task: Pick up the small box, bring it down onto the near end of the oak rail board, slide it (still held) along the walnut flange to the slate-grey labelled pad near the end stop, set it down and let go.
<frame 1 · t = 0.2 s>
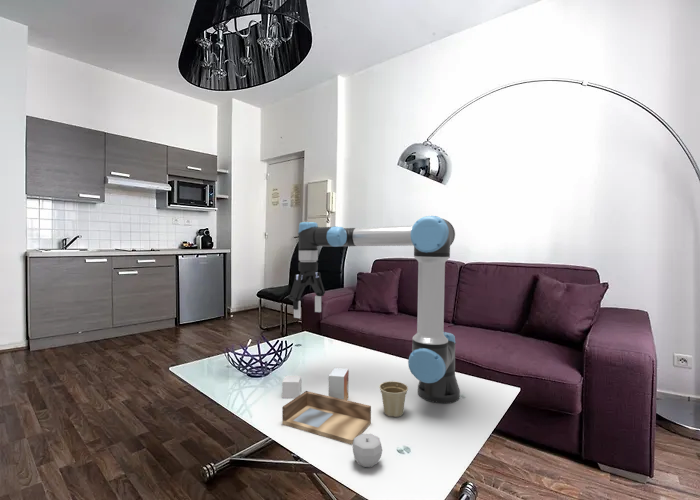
hand: (308, 314, 138), 27 cm above the table, fingers open, 13 cm apart
small box: (338, 402, 123), on the table
white cube: (292, 395, 128), on the table
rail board: (326, 423, 107), on the table
flower pot: (393, 413, 114), on the table
apple: (367, 464, 88), on the table
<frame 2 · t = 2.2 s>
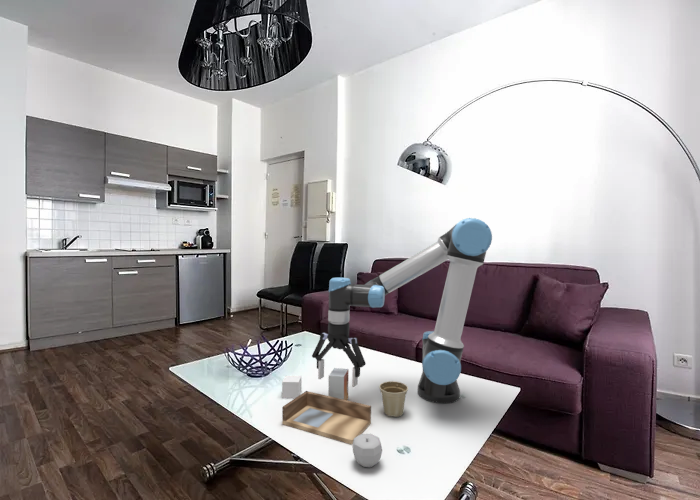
hand: (337, 381, 122), 7 cm above the table, fingers open, 13 cm apart
nothing on the table moved.
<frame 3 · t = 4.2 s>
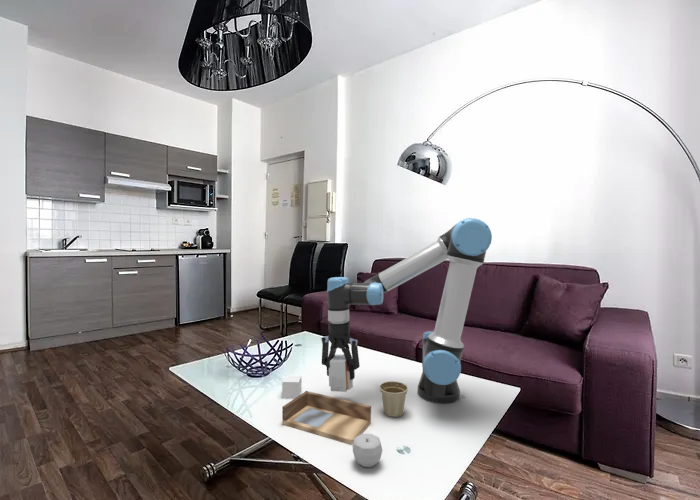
hand: (340, 386, 122), 5 cm above the table, fingers closed on small box, 7 cm apart
small box: (341, 388, 122), point 5 cm above the table, touching gripper
everything else where it was.
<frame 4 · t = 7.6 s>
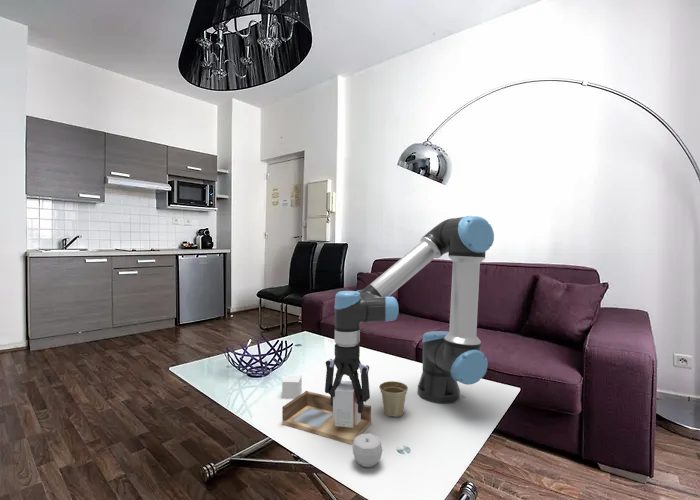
hand: (346, 419, 104), 3 cm above the table, fingers closed on small box, 7 cm apart
small box: (346, 421, 104), point 2 cm above the table, touching gripper
everything else where it was.
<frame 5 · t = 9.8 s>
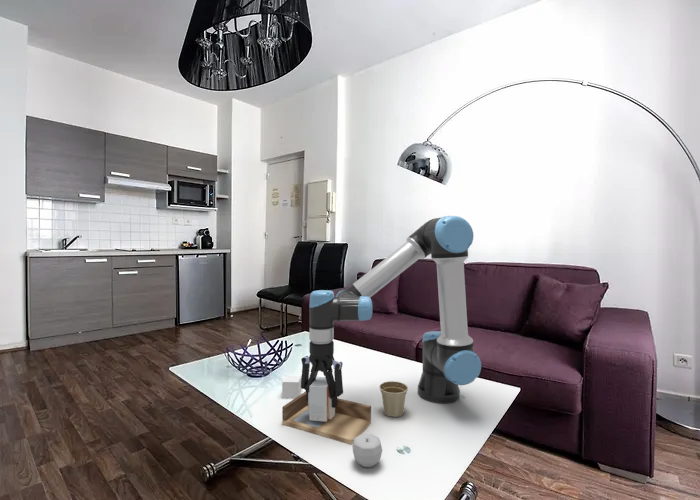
hand: (321, 414, 108), 3 cm above the table, fingers closed on small box, 7 cm apart
small box: (321, 415, 108), point 2 cm above the table, touching gripper
everything else where it was.
when the fingers open (2 cm above the table, at t = 11.3 s): small box stays where it is, resting on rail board.
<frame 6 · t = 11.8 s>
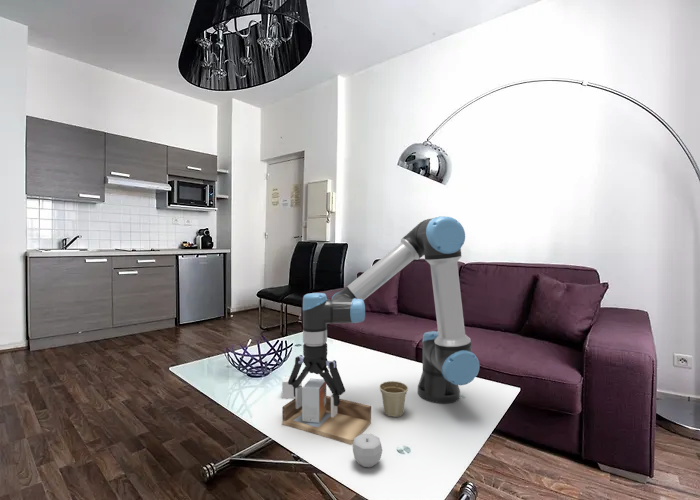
hand: (316, 411, 109), 3 cm above the table, fingers open, 12 cm apart
small box: (314, 417, 109), point 1 cm above the table, touching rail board
everything else where it was.
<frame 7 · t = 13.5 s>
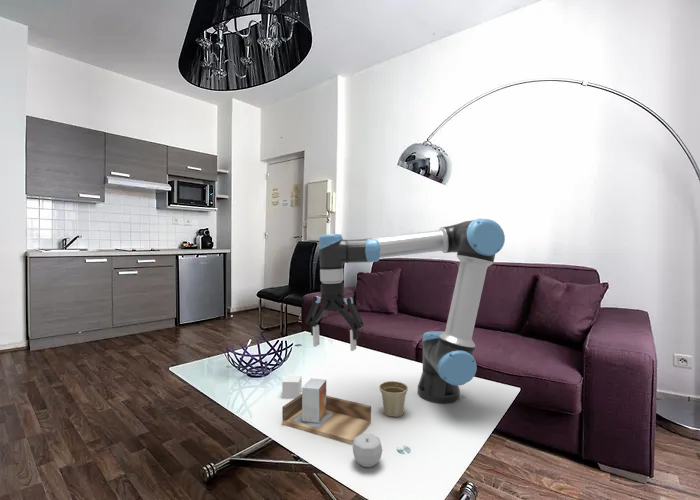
hand: (334, 347, 112), 22 cm above the table, fingers open, 13 cm apart
nothing on the table moved.
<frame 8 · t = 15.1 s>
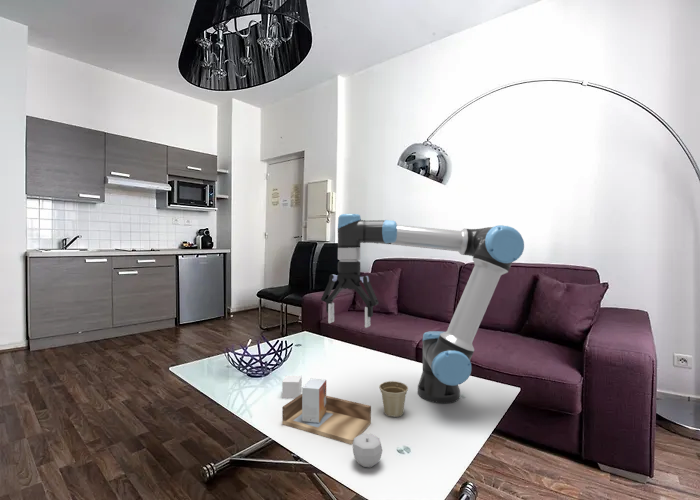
hand: (348, 324, 116), 29 cm above the table, fingers open, 13 cm apart
nothing on the table moved.
at the end: small box inside the target area (0.1 cm from its centre), point 1.0 cm above the table; small box tilted 0°; the gripper is holding nothing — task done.
